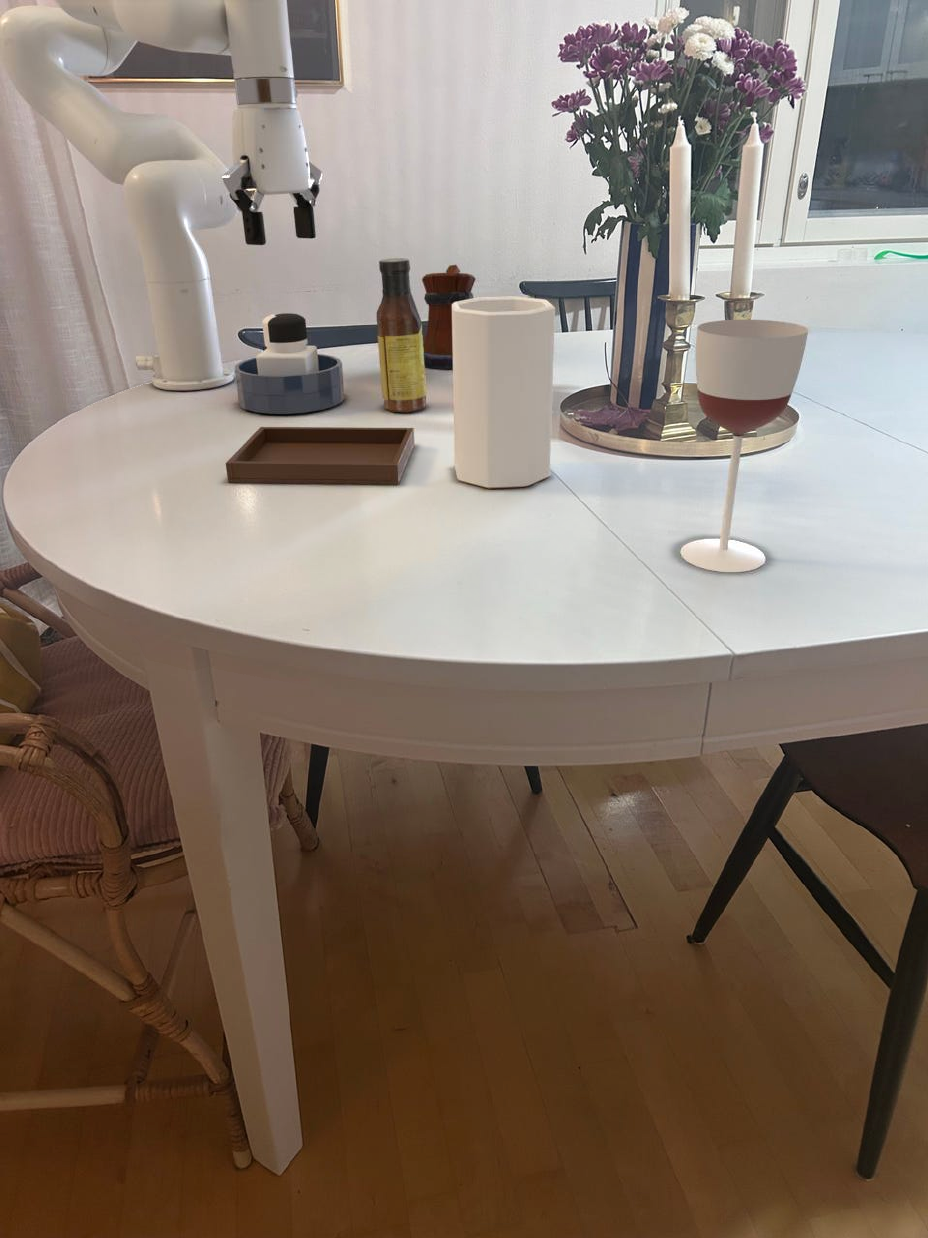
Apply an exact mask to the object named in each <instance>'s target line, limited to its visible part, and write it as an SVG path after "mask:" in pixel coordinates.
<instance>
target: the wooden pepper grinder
mask: <svg viewBox="0 0 928 1238" xmlns="http://www.w3.org/2000/svg"><path fill="white" fill-rule="evenodd" d="M421 281H422V284H423V287H424V291H425V293H424V298H423V299H424V301H425V303H426V305H428V316H427V326H426V330H425V334H424V336H423V348H424V349H423V350H424V364H425V368H431V369H438V370H439V369H440V370H453V345H452V304H453V303H454V302H458V301H463V300H468V299H473V298H474V293H473V292H472V290H473V287H474V284H475V282H476V277H475V276H474V275H473V274H469V273H463V272H461V269H460V268H459V267H458V265H457V264H452V265H448V267H447V269H446V270H445V272H433V273H427V274H424V276H423V277H422V279H421Z"/></svg>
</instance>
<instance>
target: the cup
mask: <svg viewBox="0 0 928 1238" xmlns="http://www.w3.org/2000/svg"><path fill="white" fill-rule="evenodd" d="M555 323H556V307H555V306H554V305H553V304H552V303H551V302H549V300H547V299H544V298H534V297H526V296H517V295H515V296H513V295H512V296H511V295H510V296H481V297H480V296H479V297H473V299H468V300H463V301H458V302H454V303H453V304H452V345H453V369H452V386H453V387H452V390H453V392H452V394H453V395H452V397H453V441H454V443H453V444H454V470H455V474H456V478H457V480H458V481H459V482H462V483H466V484H470V485H473V486H478V487H482V488H486V489H488V490H489V489H490V490H491V489H513V488H527V487H529V486H531V485H534V484H535V483H539V482H540V481H542V480H545V479H547V478H549V477H550V475H551V450H552V449H551V448H552V419H553V392H554V391H553V388H554V387H553V386H554V356H555V355H554V354H555V351H554V350H555V327H556V325H555Z"/></svg>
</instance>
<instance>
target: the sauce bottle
mask: <svg viewBox="0 0 928 1238" xmlns="http://www.w3.org/2000/svg"><path fill="white" fill-rule="evenodd" d="M378 266H379V272H380V274H381V285H382V290H381V292H382V297H381V301H380V304H379V306H378V308H377V310H376V313H375V314H376V324H377V325H376V327H377V344H378V345H377V347H378V356H379V357H378V358H379V369H380V370H379V371H380V382H381V393H382V399H383V406H384V409H386V410H388V411H389V412H394V413H413V412H416V411H420V410H422V409H425V407H426V405H427V380H426V366H425V364H424V350H423V349H424V348H423V340H424V335H423V333H424V332H423V323H422V320H421V316H420V314H419V311H418V309H417V305H416V302H415V300H414V298H413V294H412V292H411V291H412V289H411V284H410V283H411V281H410V271H411V264H410V259H408V258H405V257H404V258H402V257H401V258H399V257H398V258H396V257H395V258H385V259H380V260H379V261H378Z"/></svg>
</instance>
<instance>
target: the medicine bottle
mask: <svg viewBox="0 0 928 1238" xmlns="http://www.w3.org/2000/svg"><path fill="white" fill-rule="evenodd" d="M261 324H262V333H263V341H264V347H266V348H265V349H264V350H262V351H261V352H260V353H258V354H257V355H256V357H255V358H256V360H257V368H258V375H267V376H285V375H300V374H307V373H314V372H319V366H318V355H317V354H318V347H317V346H316V345H308V333H307V322H306V318H305V317H304V316H302V315H300V314H297V313H293V312H291V313H290V312H289V313H288V312H287V313H285V312H283V313H275V314H274V313H273V314H270V315H268V316H265V317H264V318H263V319H262V321H261Z"/></svg>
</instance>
